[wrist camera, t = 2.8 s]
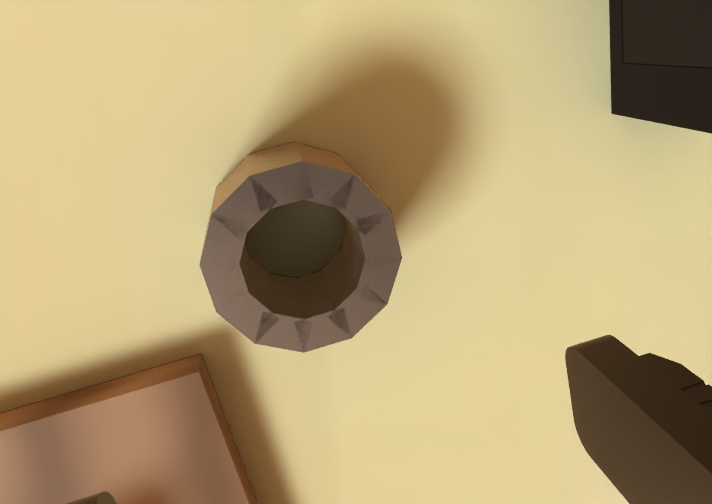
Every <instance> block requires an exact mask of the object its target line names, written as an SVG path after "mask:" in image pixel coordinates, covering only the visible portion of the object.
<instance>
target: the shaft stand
mask: <svg viewBox="0 0 712 504" xmlns="http://www.w3.org/2000/svg"><path fill="white" fill-rule="evenodd" d="M104 491H106V492H108V493H110V494H111V495H112V496H113V498H114V499H115V501H116V503H117V504H257V501H256V498H255V496H254V493H253V490H252V488H251V485H250V482H249V480H248V477H247V474H246V472H245V469H244V466H243V464H242V461H241V458H240V456H239V453H238V450H237V448H236V445H235V442H234V440H233V437H232V434H231V432H230V429H229V426H228V424H227V421H226V418H225V416H224V413H223V410H222V408H221V405H220V402H219V400H218V397H217V394H216V392H215V389H214V386H213V384H212V381H211V378H210V376H209V373H208V370H207V368H206V365H205V362H204V360H203V357H202V354H199V355H195V356H192V357H188V358H185V359H182V360H178V361H175V362H172V363H168V364H165V365H162V366H158V367H155V368H151V369H148V370H145V371H141V372H138V373H135V374H131V375H128V376H125V377H121V378H118V379H114V380H111V381H108V382H104V383H101V384H98V385H94V386H91V387H88V388H84V389H81V390H77V391H74V392H71V393H67V394H64V395H61V396H57V397H54V398H51V399H47V400H44V401H40V402H37V403H34V404H30V405H27V406H24V407H20V408H17V409H14V410H10V411H7V412H3V413H0V504H66V503H69V502H72V501H75V500H79V499H82V498H85V497H88V496H91V495H95V494H98V493H101V492H104Z"/></svg>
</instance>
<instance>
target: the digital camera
mask: <svg viewBox="0 0 712 504" xmlns="http://www.w3.org/2000/svg"><path fill="white" fill-rule="evenodd" d="M609 12H610V60H611V108H612V114H616V115H621V116H626V117H631V118H636V119H642V120H647V121H652V122H657V123H662V124H667V125H672V126H677V127H682V128H687V129H692V130H697V131H702V132H707V133H712V0H609Z"/></svg>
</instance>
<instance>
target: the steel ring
mask: <svg viewBox="0 0 712 504" xmlns="http://www.w3.org/2000/svg"><path fill="white" fill-rule="evenodd" d="M300 200H306V201H311V202H315V203H319V204H323V205H327V206H331V207H335V208H336V209H337V210H338V211H339V212H341V213H342V214H343V215H344V216H345V220H346V224H347V229H346V232H345V236H344V239H343V243H342V246H341V250H340V252H339V253H338V254H337V255H336V256H335V257H334V258H333V259H332V260H331V261H330V262H329V263H328V264H327V265H326V266H325V267H324V268H323V269H322V270H321V271H318V272H314V273H311V274H307V275H304V276H300V277H297V278H292V277H287V276H282V275H278V274H273V273H268V272H267V271H266V270H265V269H264V268H263V267H262V266H260V265H259V264H258V263H257V262H256V261H255V260H253V259H252V258H251V257H250V256H249V255H248V252H247V249H246V246H245V243H244V242H245V238H246V234H247V232H248V231H249V230H250V229H251V228H252V227H253V226H254V225H255V224H256V223H257V222H258V221H259V220H260V219H261V218H262V217H263V216H264V215H265V214H266V213H267V212H268V211H269V210H270V209H272V208H275V207H279V206H283V205H286V204H290V203H293V202H297V201H300ZM401 259H402V256H401V252H400V248H399V243H398V239H397V235H396V230H395V226H394V222H393V217H392V213H391V210H390V209H389V207H388V206H387V205H386V204H385V203H384V202H383V201H382V200H381V198H380V197H379V196H378V195H377V194H376V193H375V192H374V191H373V189H372V188H371V187H370V186H369V185H368V184H367V183H366V182H365V181H364V180H363V179H362V178H361V177H360V176H359V175H358V174H357V173H356V172H355V171H354V170H353V169H352V168H351V167H350V166H349V165H348V164H347V163H346V162H345V161H344V160H343V159H342V158H341V157H340V156H339V155H338V154H337V153H333V152H329V151H325V150H321V149H318V148H314V147H310V146H306V145H302V144H299V143H295V142H292V143H288V144H285V145H281V146H277V147H274V148H270V149H266V150H263V151H259V152H255V153H252V154H248V155H247V156H246V158H245V159H244V160H243V161H242V162H241V163H240V164H239V165H238V166H237V167H236V168H235V169H234V170H233V171H232V172H231V173H230V174H229V175H228V176H227V177H226V178H225V179H224V180H223V181H222V182H221V183H220V184H219V185H218V186H217V187H216V192H215V196H214V201H213V205H212V209H211V214H210V218H209V222H208V227H207V231H206V235H205V240H204V245H203V250H202V255H201V260H200V267H201V270H202V273H203V276H204V279H205V281H206V284H207V287H208V290H209V293H210V295H211V298H212V301H213V304H214V307H215V310H216V312H217V313H218V314H219V315H220V316H222V317H223V318H224V319H225V320H227V321H228V322H229V323H230V324H232V325H233V326H234V327H235V328H236V329H238V330H239V331H240V332H241V333H243V334H244V335H245V336H246V337H248V338H249V339H250V340H251V341H252V342H254V343H255V344H260V345H266V346H271V347H277V348H282V349H288V350H293V351H299V352H307V351H311V350H314V349H317V348H320V347H324V346H327V345H330V344H334V343H337V342H340V341H344V340H347V339H350V338H352V337H353V336H354V335H356V334H357V333H358V332H359V331H360V330H361V329H362V328H363V327H364V326H365V325H366V324H367V323H368V322H369V321H370V320H371V319H372V318H373V317H374V316H375V315H376V314H377V313H378V312H380V311H381V310H382V309H383V308H384V307H385V306H386V305H387V303H388V300H389V297H390V294H391V291H392V288H393V284H394V281H395V278H396V275H397V272H398V269H399V266H400V262H401Z"/></svg>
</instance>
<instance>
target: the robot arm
mask: <svg viewBox="0 0 712 504" xmlns="http://www.w3.org/2000/svg"><path fill="white" fill-rule="evenodd" d="M565 358H566V367H567V374H568V381H569V388H570V395H571V402H572V409H573V416H574V422H575V426H576V430H577V433H578V435H579V438H580V440H581V442H582V444H583V446H584V448H585V450H586V451H587V453H588V454H589V456H590V457H591V458H592V459H593V461H594V462H595V463H596V464H597V465H598V467H599V468H600V469H601V470H602V471H603V473H604V474H605V475H606V476H607V477H608V478H609V480H610V481H611V482H612V483H613V484H614V486H615V487H616V488H617V489H618V490H619V492H620V493H621V494H622V495H623V496H624V497H625V499H626V500H627V501H628V502H629V503H630V504H712V387H711V386H710V385H705V383H704V381H703V380H702V379H701V378H699V377H698V376H696V375H695V374H694V373H692V372H691V371H690V370H688V369H687V368H686V367H684V366H683V365H681V364H679V363H677V362H674V361H671V360H668V359H665V358H663V357H660V356H657V355H654V354H651V353H648V354H644V355H641V356H638V355H637V354H635V353H634V352H633V351H632V350H630V349H629V348H628V347H626V346H625V345H624V344H623V343H621V342H620V341H619V340H618V339H616V338H615V337H613V336H611V335H606V336H603V337H600V338H596V339H593V340H590V341H587V342H584V343H580V344H577V345H574V346H571V347H568V348H567V350H566V354H565ZM66 504H117V503H116V501H115V499H114V498H113V496H112V495H111V494H110V493H108V492H106V491H104V492H101V493H98V494H95V495H91V496H88V497H85V498H82V499H79V500H75V501H72V502H69V503H66Z"/></svg>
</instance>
